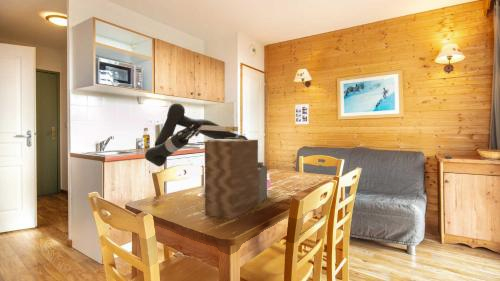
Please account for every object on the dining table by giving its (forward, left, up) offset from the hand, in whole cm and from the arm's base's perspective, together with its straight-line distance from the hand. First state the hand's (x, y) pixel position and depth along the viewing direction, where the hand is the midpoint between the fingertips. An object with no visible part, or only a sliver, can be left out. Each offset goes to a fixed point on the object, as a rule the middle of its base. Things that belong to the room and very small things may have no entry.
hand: (201, 124), depth 125 cm
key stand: (-8, +13, -39) cm, 42 cm away
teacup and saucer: (-21, -16, -40) cm, 48 cm away
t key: (-1, +6, -3) cm, 7 cm away
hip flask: (-28, +14, -40) cm, 51 cm away
